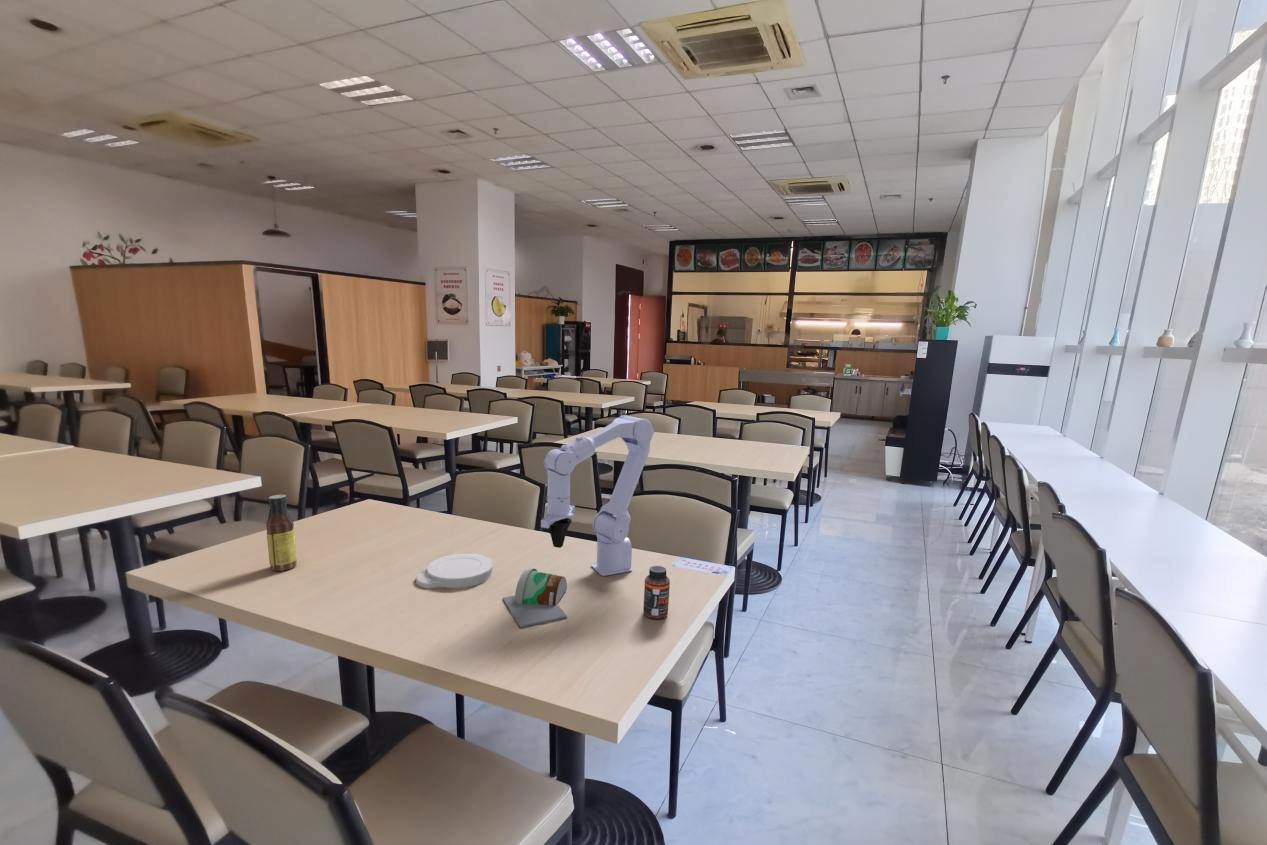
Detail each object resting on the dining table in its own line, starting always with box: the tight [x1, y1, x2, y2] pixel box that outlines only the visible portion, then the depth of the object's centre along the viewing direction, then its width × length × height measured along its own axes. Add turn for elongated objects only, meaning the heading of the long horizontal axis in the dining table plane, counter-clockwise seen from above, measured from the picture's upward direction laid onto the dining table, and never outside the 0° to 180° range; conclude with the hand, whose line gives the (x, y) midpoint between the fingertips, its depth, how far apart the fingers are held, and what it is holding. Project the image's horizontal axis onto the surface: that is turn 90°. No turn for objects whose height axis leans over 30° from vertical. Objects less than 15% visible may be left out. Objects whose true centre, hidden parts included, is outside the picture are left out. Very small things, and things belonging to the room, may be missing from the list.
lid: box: [415, 552, 494, 590], centre depth 147 cm, size 17×20×3 cm
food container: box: [514, 567, 568, 606], centre depth 136 cm, size 12×6×10 cm
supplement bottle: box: [642, 565, 671, 620], centre depth 130 cm, size 6×6×11 cm
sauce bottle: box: [265, 494, 298, 572], centre depth 147 cm, size 7×6×20 cm
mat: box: [502, 594, 568, 629], centre depth 131 cm, size 11×15×1 cm
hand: (558, 546), depth 143 cm, fingers closed
